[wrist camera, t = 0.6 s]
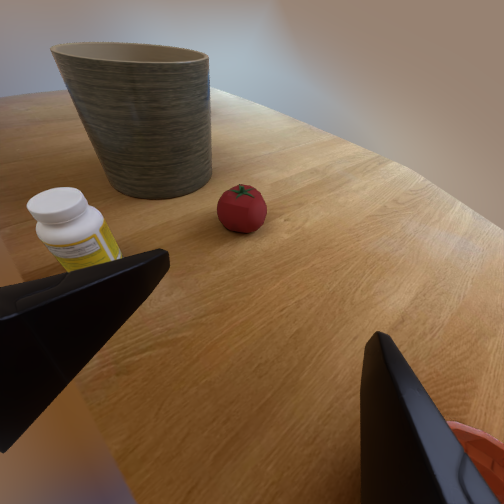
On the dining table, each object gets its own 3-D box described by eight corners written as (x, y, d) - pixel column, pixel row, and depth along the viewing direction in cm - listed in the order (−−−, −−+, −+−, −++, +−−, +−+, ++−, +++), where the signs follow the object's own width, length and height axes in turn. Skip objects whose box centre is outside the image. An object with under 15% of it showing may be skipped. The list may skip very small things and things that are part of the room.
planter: (232, 168, 54) (234, 56, 39) (165, 215, 39) (129, 68, 25) (161, 144, 60) (139, 41, 45) (81, 178, 46) (13, 43, 31)
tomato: (210, 231, 37) (208, 192, 32) (231, 206, 43) (232, 169, 38) (255, 246, 36) (260, 208, 31) (271, 218, 41) (277, 182, 36)
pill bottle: (97, 248, 33) (55, 178, 25) (135, 258, 32) (104, 189, 24) (62, 281, 29) (-2, 209, 21) (104, 293, 28) (55, 223, 20)
